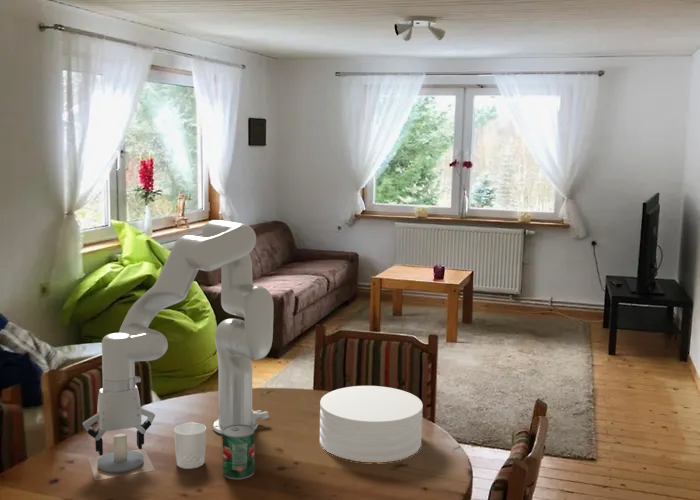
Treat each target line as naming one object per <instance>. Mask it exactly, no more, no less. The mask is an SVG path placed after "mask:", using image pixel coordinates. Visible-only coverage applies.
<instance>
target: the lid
mask: <svg viewBox="0 0 700 500" xmlns="http://www.w3.org/2000/svg"><path fill="white" fill-rule="evenodd" d="M112 441H113V451H111V452H107V453H105V454H103V456H101V457H100V458H99V459H98V461H97V465H98V469H99V470H100V471H102V472H105V473H112V474H118V473H126V472H130V471H133V470H136V469H138V468H140V467H141V466H142V465H143V463H144V457H143V455H142V454H141V453H139V452H137V451H133V450H129V449H128V435H127V434H125V433H118V434H114V435H113V439H112Z"/></svg>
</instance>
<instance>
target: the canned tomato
mask: <svg viewBox="0 0 700 500" xmlns="http://www.w3.org/2000/svg"><path fill="white" fill-rule="evenodd" d="M255 431H256V430H254V428H253V427H252V426H249V425H245V424H235V425H230V426H227V427H225V428H224V429H223V430H222V433H223V434H221V435H222V436H221V438H222V439H221V440H222V444H221V446H222V475H223V476H224V477H225V478H227V479H230V480H245V479H248V478H250V477H252V476H253V475H254V474H255Z"/></svg>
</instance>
